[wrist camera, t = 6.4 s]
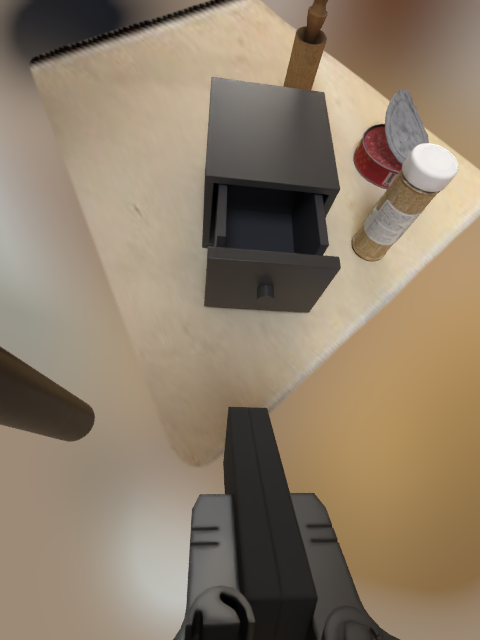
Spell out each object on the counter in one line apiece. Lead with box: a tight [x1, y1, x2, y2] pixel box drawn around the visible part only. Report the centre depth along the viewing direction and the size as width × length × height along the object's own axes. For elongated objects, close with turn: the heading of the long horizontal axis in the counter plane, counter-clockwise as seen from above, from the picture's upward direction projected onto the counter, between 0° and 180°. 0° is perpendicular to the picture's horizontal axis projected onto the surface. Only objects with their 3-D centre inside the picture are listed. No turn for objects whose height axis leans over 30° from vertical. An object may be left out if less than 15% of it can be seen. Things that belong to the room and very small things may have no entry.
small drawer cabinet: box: [202, 77, 340, 248], centre depth 38 cm, size 15×13×11 cm
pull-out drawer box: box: [204, 183, 341, 312], centre depth 34 cm, size 15×11×9 cm
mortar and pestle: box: [283, 0, 328, 91], centre depth 43 cm, size 7×6×18 cm
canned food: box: [354, 90, 429, 189], centre depth 47 cm, size 11×10×10 cm
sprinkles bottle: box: [352, 143, 459, 261], centre depth 36 cm, size 5×5×13 cm
